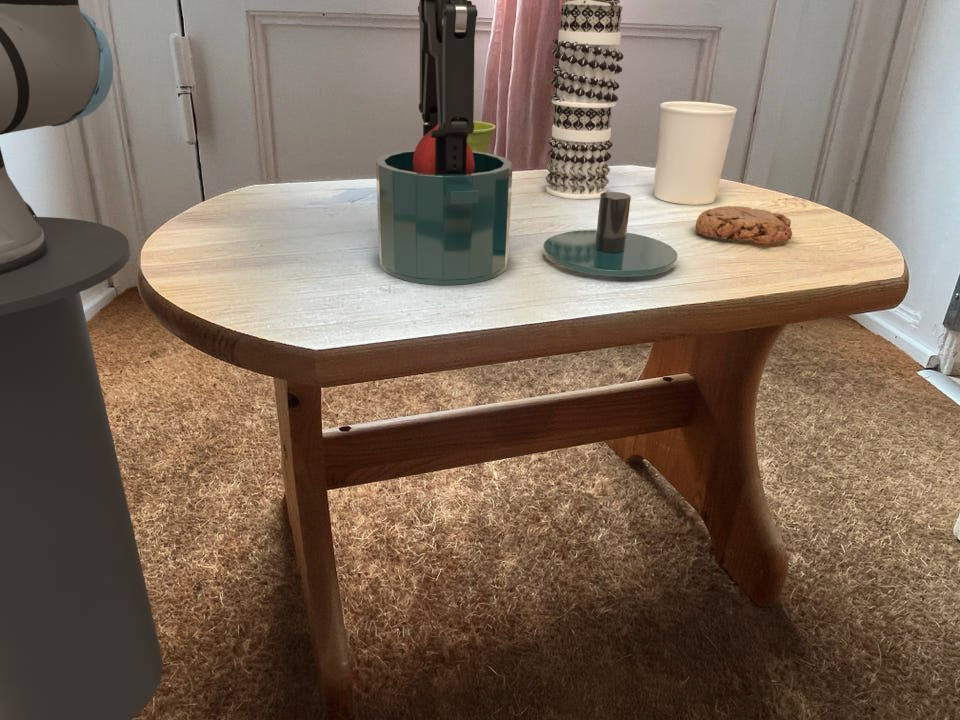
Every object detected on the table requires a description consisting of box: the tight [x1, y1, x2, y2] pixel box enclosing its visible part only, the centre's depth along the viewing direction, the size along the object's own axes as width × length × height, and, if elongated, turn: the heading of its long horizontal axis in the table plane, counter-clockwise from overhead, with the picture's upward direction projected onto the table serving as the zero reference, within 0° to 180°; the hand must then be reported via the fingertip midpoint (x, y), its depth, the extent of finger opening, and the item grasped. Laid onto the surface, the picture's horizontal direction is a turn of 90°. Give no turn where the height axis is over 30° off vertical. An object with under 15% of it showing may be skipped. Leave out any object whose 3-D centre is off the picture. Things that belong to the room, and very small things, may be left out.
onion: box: [413, 124, 475, 174], centre depth 69 cm, size 6×6×8 cm
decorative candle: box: [545, 0, 624, 200], centre depth 97 cm, size 9×9×25 cm
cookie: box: [695, 205, 793, 244], centre depth 85 cm, size 10×11×3 cm
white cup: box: [653, 100, 738, 206], centre depth 99 cm, size 10×10×12 cm
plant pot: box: [424, 120, 496, 153], centre depth 100 cm, size 9×9×9 cm
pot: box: [375, 149, 514, 286], centre depth 71 cm, size 13×18×10 cm
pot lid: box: [542, 191, 678, 278], centre depth 74 cm, size 14×14×7 cm
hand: (443, 200), depth 71 cm, fingers closed on onion, 6 cm apart
